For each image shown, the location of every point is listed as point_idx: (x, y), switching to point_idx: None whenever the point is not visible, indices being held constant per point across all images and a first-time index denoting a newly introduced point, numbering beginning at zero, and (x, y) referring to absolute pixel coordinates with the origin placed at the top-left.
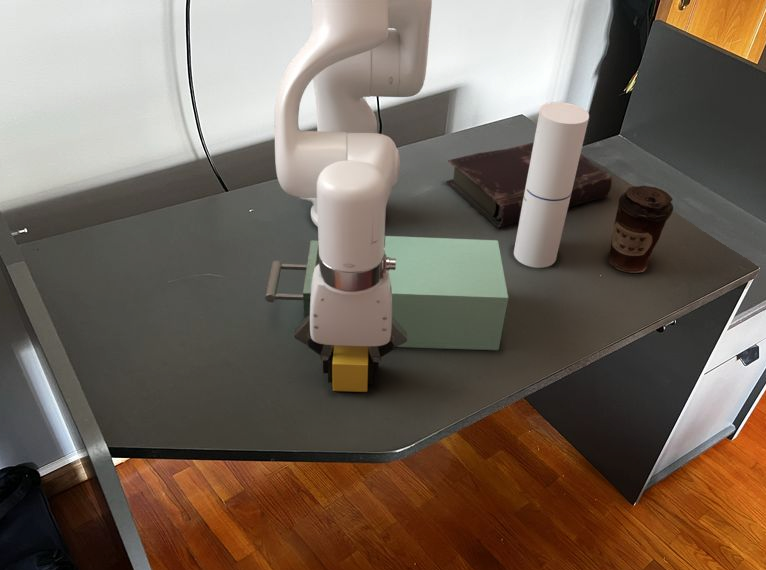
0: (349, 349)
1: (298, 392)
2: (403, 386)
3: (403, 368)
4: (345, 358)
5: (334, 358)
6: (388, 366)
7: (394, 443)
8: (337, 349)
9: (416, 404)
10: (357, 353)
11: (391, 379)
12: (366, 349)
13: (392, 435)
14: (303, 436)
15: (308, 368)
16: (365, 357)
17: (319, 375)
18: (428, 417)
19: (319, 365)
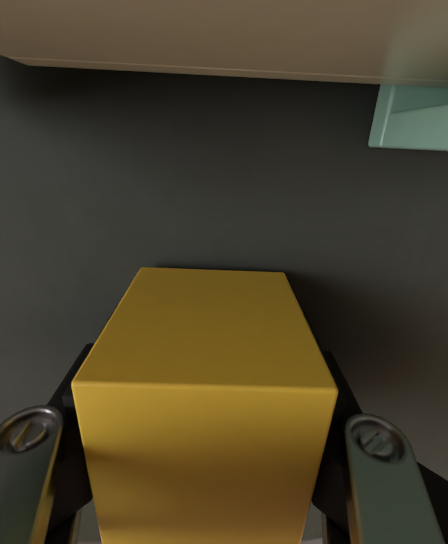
0: (192, 490)
1: (34, 394)
2: (397, 370)
3: (425, 287)
4: (172, 540)
5: (109, 539)
6: (366, 277)
7: (321, 529)
8: (115, 494)
9: (416, 433)
10: (243, 515)
11: (362, 341)
12: (302, 489)
13: (321, 512)
14: (92, 515)
15: (35, 288)
16: (288, 533)
17: (89, 324)
18: (435, 470)
19: (77, 272)
